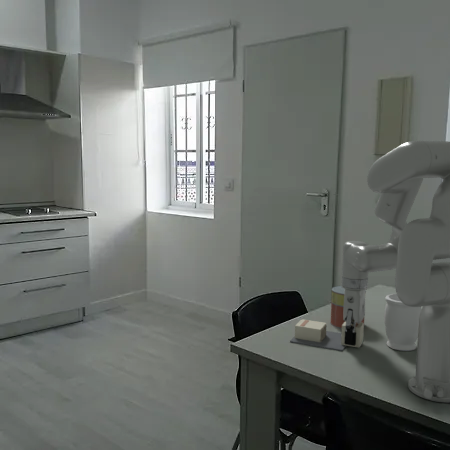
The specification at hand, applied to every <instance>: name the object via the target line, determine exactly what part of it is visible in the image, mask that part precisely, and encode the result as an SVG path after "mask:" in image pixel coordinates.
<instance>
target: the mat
mask: <svg viewBox="0 0 450 450" xmlns="http://www.w3.org/2000/svg"><path fill="white" fill-rule="evenodd" d="M341 335H342V332H335V331H330V330H326V337H325V338H324V339H323V340H322V342H315V341H309V340H303V339H297V338H295V335H294V336H293V337H292V338H291V339H290V340H289V342H290V343H293V344H299V345H304V346H310V347H317V348H322V349H327V350H334V351H339V352H343V351H344V349H345V348H346V345H341Z"/></svg>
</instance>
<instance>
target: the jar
mask: <svg viewBox="0 0 450 450" xmlns="http://www.w3.org/2000/svg"><path fill="white" fill-rule="evenodd" d="M384 299H385V301H386V304H385V308H384V316H383V317H384V319H383V320H384V325H385V326H384V328H385V334H386V337H387V339H388V340H387V341H386V345H387V347H389V348H391V349H393V350H395V351H403V352H408V351H409V352H411V351H414V350H417V344H416V342H417V341H418V326H419V317H420V313H421V310H422V306H421V307H410V306H407V305H405V304H404V303H402V302H401V301H400V299H399V298H398V296H397V293H391V294H390V293H389V294H387V295H385V298H384Z"/></svg>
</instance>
